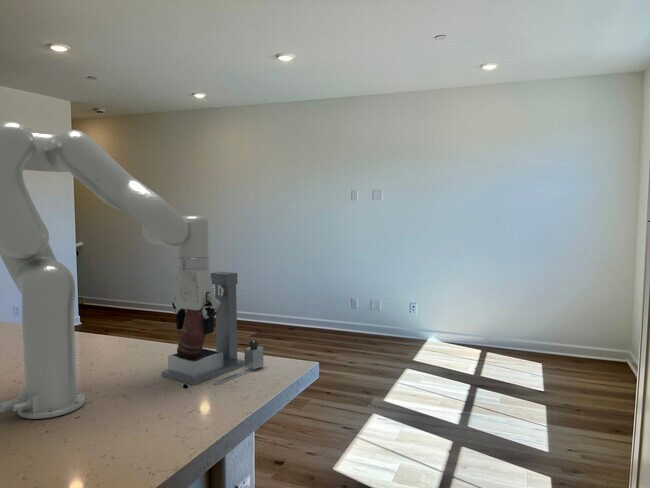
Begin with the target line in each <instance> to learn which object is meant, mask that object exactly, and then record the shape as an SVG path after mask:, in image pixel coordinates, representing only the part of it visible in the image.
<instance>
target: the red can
mask: <svg viewBox="0 0 650 488" xmlns="http://www.w3.org/2000/svg"><path fill="white" fill-rule="evenodd" d="M206 311H207V313H208V310H206ZM203 318H204V316H203V314H202V311H200V310H199V311H194V310H190V309H187V310H186V315H185V319H184V323H183V327H182V329H181V332H180V337H179V341H178V344H177V349H176V353H178V355H179V356H180V357H181V358H184V359H188V360H194V359H197V358H198V357H199V356H200V355H201V351H202V348H204V343H205V339H206V335H207V334H206V335H204V334H203V327H202V320H203Z"/></svg>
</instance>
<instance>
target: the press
mask: <svg viewBox="0 0 650 488" xmlns="http://www.w3.org/2000/svg"><path fill="white" fill-rule="evenodd" d="M210 273H211V279H212V285H214V294H215V295H214V297H215V298H217V299H218V300H219V301H220V305H219V308H218V312H217V313H216V316H215V347H216V348H215V349H210V348H205V347H203V348H202V351H201V355H200V356H199V357H198V358H197V359H194V360H188V359H184V358H181V357H180V356H179V355H178V353H177V352H176V353H173V354H169V355H167V365H168V366H167V369H165V370H163V371H161V377H163V378H167V379H169V380H170V379H171V380H174V381H177V382H182V383H185V384H188V385H192V386H196V385H198V384H200V383H203V382H206V381H208V380H212V379H214V378H216V377H218V376H219V377H220V376H221V375H224V374H228V373H229V372H232V371H235V370H237V369H239V368H242V367H245V359H238V325H237V324H238V321H237V319H238V317H237V314H238V313H237V309H238V308H237V307H238V306H237V285H238V272H233V271H232V272H229V271H218V272H217V271H216V272H210ZM260 368H261V367H259V368H256V369H254V370H253V369H248V368H245V369H244V370H241V371H239V372H236V373H234V374H231V375H229V376H227V377H224V378H222V379H221V378H220V379H219V380H217V381H213V385H215V386H218V385H220V384H223V383H225V382H228V381H230V380H234V379H236V378H238V377H241V376H243V375H246V374H247V373H250V372H253V371H255V370H258V369H260Z"/></svg>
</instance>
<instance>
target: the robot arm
mask: <svg viewBox="0 0 650 488" xmlns="http://www.w3.org/2000/svg"><path fill="white" fill-rule="evenodd" d="M23 171H31V172H32V171H35V172H48V173H49V172H51V173H54V172H55V173H69V174H71V175H72V176H73V177H74V178H75V179H77V180H78V181H79V182H81V183H82V184H83V185H84V186H85V187H86V189H89V191H90V192H92V193H93V195H95V196H96V197H97V198H98V199H99V200H101V201H102V202H103V203H105V204H107V205H108V206H110V207H111V208H113V209H116V210H119V211H121V212H123V213H125V214H127V215H128V216H130V217H132V218H133V219H134V220H136V221H138V223H140V224H141V225H142V228H141V230H142V231H141V232H142V236H143V238H144V239H145V240H146V241H147V242H148V243H150V244H152V245H155V246H162V247H172V248H173V247H177V266H178V267H177V269H176V271H175V277H174V287H173V293H172V294H171V295H170V301H171V305H172V309H174V312H173V313H174V314H175V315H176V317H175V319H176V320H175V321H176V322H175V323H176V330H182V327H183V323H184V319H185V315H186V310H187V309H190V310H194V311H199V310H200V311H202V314H203V316H204V318H203V320H202V327H203V334H204V335H208V334H212V333H214V331H215V327H214V324H215V323H214V319H215V318H216V313H217V312H218V308H219V305H220V301H219V300H218V299H217V298H215V295H214V292H213V291H214V290H213V289H214V287H213V284H212V279H211V273H212V272H211V269H210V259H209V258H210V257H209V255H210V254H209V250H210V249H209V221H208V218H207V217H206V216H204V215H181V214H180V213H179V212H178V211H177V210H176V209H175V208H174V207H173V206H171V205H170V204H169V203H168V202H167V201H166V200H165V199H164V198H163V197H161V196H160V195H159V194H158V193H156V192H154V191H153V190H152V189H150V188H149V187H147V186H146V185H145V184H143V183H142V182H141V181H140V180H139V179H137V178H135V177H133V176H132V175H131V174H130V173H129V172H127V170H125V168H124V167H122V165H120V163H118V162H117V161H116V160H115V159H114V158H112V156H111V155H109V153H108V152H107V151H105V149H104V148H102V147H101V146H100V145H99V144H98V143H97V141H95V140H94V139H92V138H91V137H90V136H89V135H88V134H86V133H85V132H83V131H81V130H78V129H68V130H65V131H63V132H60V133H58V134H54V133H53V134H52V133H37V132H32V131H31V130H30V129H29V128H28V127H27V126H26V125H23V124H22V123H20V122H17V121H10V120H9V121H8V120H7V121H6V120H4V121H1V122H0V258H1V260H2V262H3V264H4V266H5V267H6V269H7V272H8V273H9V275H10V277H11V278H12V281H13V283H14V284H15V287H16V288H17V289H18V291H19V292H20V294H21V309H22V311H21V314H22V315H21V324H22V325H21V326H22V327H21V328H22V329H21V330H22V345H23V347H22V348H23V365H24V366H23V367H24V368H23V369H24V388H25V389H23V390H20V391H19V395H17V396H15V398H14V399H8V400H5V401H2V402H0V413H5V412H8V411H10V410H11V411H12V412H17V415H18V416H19V417H20V418H24V419H27V420H28V419H31V420H36V419H37V420H39V419H49V418H56V417H59V416H63V415H66V414H69V413H71V412H74V411H76V410H79V409H80V408H81V407H83V405H84V404H85V403H86V396H85V394H84V393H82V392H78V386H77V383H78V382H77V359H76V356H77V355H76V335H75V334H76V333H75V299H76V284H75V278H74V276H73V273H72V272H71V271H70V269H69V268H68V267H67V266H66V265H65V264H62V263H61V262H58V259H57V257H56V255H55V254H54V251H53V250H52V248H51V245H50V243H49V240H50V233H49V231H48V227H47V225H46V224H45V223H44V221H43V219H42V217H41V216H40V214H39V211H38V209H37V207H36V205H35V204H34V201H33V199H32V198H31V195H30V193H29V189H28V188H27V186H26V183H25V180H24V179H25V178H24V175H23V173H24V172H23ZM206 310H208V313H207V311H206Z"/></svg>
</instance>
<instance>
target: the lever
mask: <svg viewBox="0 0 650 488" xmlns="http://www.w3.org/2000/svg"><path fill="white" fill-rule="evenodd" d="M248 345H249V347H246V348H244V361H245V366H244V368H245V369H253V371H255V370H257V369H256V368H258V369H260V368H261V367H264V346H259V341H258V340H257V339H251V340H250V341H249V344H248ZM259 367H260V368H259ZM254 369H255V370H254Z"/></svg>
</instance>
